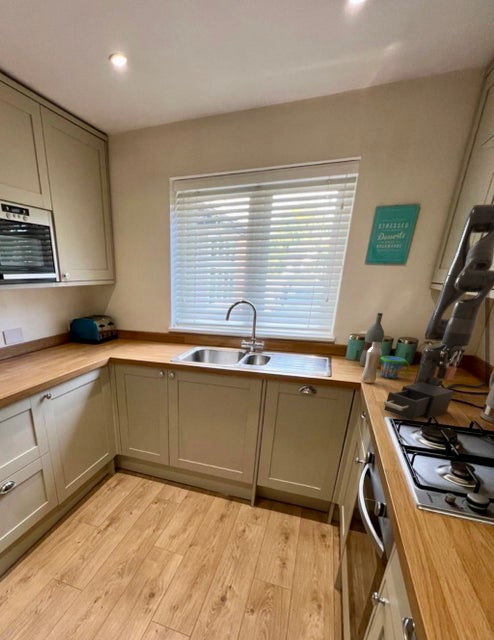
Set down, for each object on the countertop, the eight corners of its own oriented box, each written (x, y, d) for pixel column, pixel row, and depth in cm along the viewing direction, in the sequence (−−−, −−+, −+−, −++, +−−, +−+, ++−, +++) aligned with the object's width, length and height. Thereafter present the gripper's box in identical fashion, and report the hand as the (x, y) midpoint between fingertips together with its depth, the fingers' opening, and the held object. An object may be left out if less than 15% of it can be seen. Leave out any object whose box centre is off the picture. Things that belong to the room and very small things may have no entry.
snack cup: (404, 376, 175) (410, 358, 171) (407, 382, 166) (413, 362, 162) (371, 372, 181) (376, 354, 177) (372, 377, 172) (377, 358, 168)
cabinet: (427, 418, 125) (434, 396, 122) (396, 407, 135) (403, 386, 131) (446, 412, 131) (454, 390, 128) (416, 402, 140) (422, 382, 137)
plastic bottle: (367, 384, 160) (377, 344, 153) (356, 380, 166) (366, 341, 159) (377, 384, 162) (388, 343, 154) (367, 379, 168) (377, 340, 161)
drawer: (402, 423, 119) (408, 404, 116) (375, 412, 127) (380, 394, 124) (430, 414, 126) (436, 396, 124) (402, 404, 135) (407, 388, 132)
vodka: (371, 368, 187) (385, 314, 176) (355, 364, 194) (367, 312, 183) (379, 366, 192) (392, 313, 181) (363, 362, 199) (375, 311, 188)
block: (439, 375, 125) (443, 364, 123) (453, 379, 121) (457, 367, 120) (433, 377, 123) (437, 365, 121) (446, 380, 119) (450, 368, 118)
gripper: (461, 334, 109) (444, 383, 116) (481, 331, 116) (464, 378, 122) (436, 330, 115) (421, 377, 122) (456, 328, 122) (442, 372, 128)
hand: (443, 377), depth 122 cm, fingers closed on block, 4 cm apart
